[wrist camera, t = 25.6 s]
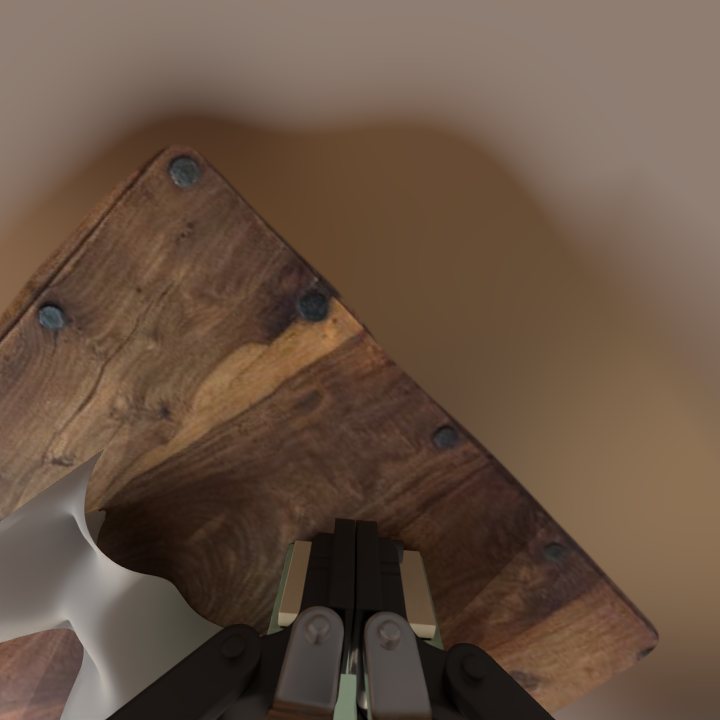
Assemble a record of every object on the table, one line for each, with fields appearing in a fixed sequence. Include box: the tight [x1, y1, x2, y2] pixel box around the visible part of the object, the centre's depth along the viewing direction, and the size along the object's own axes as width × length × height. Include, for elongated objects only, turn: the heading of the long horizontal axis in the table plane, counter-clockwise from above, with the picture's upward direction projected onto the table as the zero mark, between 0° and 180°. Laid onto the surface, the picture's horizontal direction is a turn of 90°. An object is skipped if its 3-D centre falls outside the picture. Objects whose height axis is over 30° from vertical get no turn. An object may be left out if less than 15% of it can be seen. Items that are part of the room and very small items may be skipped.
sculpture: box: [0, 449, 263, 720], centre depth 30 cm, size 25×19×10 cm
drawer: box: [278, 540, 436, 638], centre depth 31 cm, size 18×11×7 cm, turn 174°
